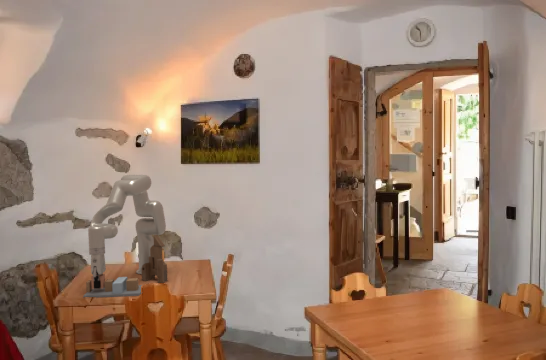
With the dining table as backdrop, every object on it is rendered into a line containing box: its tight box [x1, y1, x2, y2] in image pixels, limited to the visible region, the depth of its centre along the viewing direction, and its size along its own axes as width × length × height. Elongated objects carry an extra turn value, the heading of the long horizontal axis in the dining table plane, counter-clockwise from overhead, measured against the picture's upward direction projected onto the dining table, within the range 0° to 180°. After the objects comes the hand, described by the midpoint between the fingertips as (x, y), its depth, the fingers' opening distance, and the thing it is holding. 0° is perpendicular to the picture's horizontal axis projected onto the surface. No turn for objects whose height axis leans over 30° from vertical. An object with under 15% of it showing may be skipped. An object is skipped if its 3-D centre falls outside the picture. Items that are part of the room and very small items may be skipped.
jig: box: [82, 277, 143, 298], centre depth 263 cm, size 16×27×6 cm, turn 94°
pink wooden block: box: [90, 273, 106, 289], centre depth 262 cm, size 4×6×6 cm
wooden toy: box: [141, 235, 169, 284], centre depth 285 cm, size 15×7×25 cm, turn 55°
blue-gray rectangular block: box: [112, 276, 129, 294], centre depth 263 cm, size 13×4×5 cm, turn 3°
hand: (98, 286), depth 263 cm, fingers closed on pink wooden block, 4 cm apart
